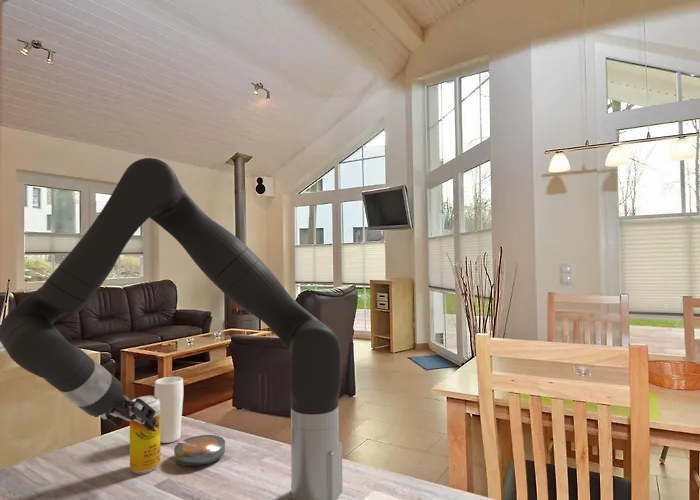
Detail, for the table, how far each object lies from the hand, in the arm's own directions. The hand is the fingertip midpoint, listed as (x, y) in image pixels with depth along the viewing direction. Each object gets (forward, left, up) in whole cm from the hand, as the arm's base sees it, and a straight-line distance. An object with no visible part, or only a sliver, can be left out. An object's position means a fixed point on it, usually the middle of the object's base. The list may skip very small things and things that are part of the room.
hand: (136, 424), depth 93 cm
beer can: (0, -2, -11) cm, 11 cm away
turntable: (-9, -9, -10) cm, 17 cm away
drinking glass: (+5, -16, -11) cm, 20 cm away
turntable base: (-9, -9, -10) cm, 17 cm away
